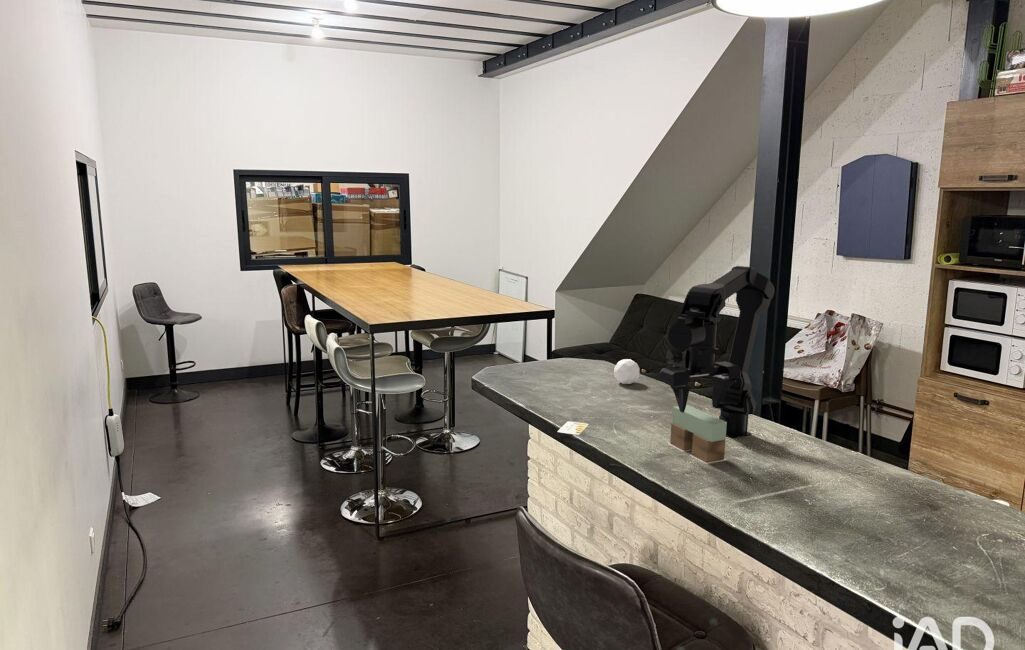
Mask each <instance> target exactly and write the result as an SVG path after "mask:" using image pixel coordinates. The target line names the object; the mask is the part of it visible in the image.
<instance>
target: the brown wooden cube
mask: <svg viewBox="0 0 1025 650" xmlns="http://www.w3.org/2000/svg"><path fill="white" fill-rule="evenodd" d="M693 434H694V433H692V432H690V431H688V430H686V429H684V428H682V427H680V426H678V425H676V424H674V423H671V425H670V440H669V441H670V442H669V443H670V444H672V445H674V446H675V447H677V448H679V449H681V450H683V451H685V450H691V449H692V443H693ZM675 447H674V448H675ZM677 448H676V449H677Z"/></svg>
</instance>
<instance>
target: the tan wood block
mask: <svg viewBox="0 0 1025 650" xmlns="http://www.w3.org/2000/svg"><path fill="white" fill-rule="evenodd" d="M725 450H726V439H725V440H719V441H714V442H710V441H708V440H706V439H704V438H702V437H700V436H698V435H696V434H693V443H692V451H691V452H692V453H691V454H692V456H694V457H696V458H698V459H700V460H702V461H704V462H706V463H708V462H714V461H719V460H724V459H725V455H726V453H725Z"/></svg>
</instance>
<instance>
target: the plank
mask: <svg viewBox="0 0 1025 650" xmlns="http://www.w3.org/2000/svg"><path fill="white" fill-rule="evenodd" d="M671 418H672V419H671V422H672V423H674V424H676V425H678V426H680V427H682V428H684V429H686V430H688V431H690V432H692V433H694V434H696V435H698V436H700V437H702V438H704V439H706V440H708V441H710V442H714V441H719V440H725V441H726V438H727V436H726V426H727V422H725V421H723V420H721V419H719V417H717V416H716V417H715V416H714V415H711V414H709V413H707V412H705V411H703V410H700V409H698V408H695V407H693V406H691V405H688V404H686V408H685V411H684V413H682V412H680V410H679V407H678V405H675V406H672V417H671ZM672 423H671V424H672Z"/></svg>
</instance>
